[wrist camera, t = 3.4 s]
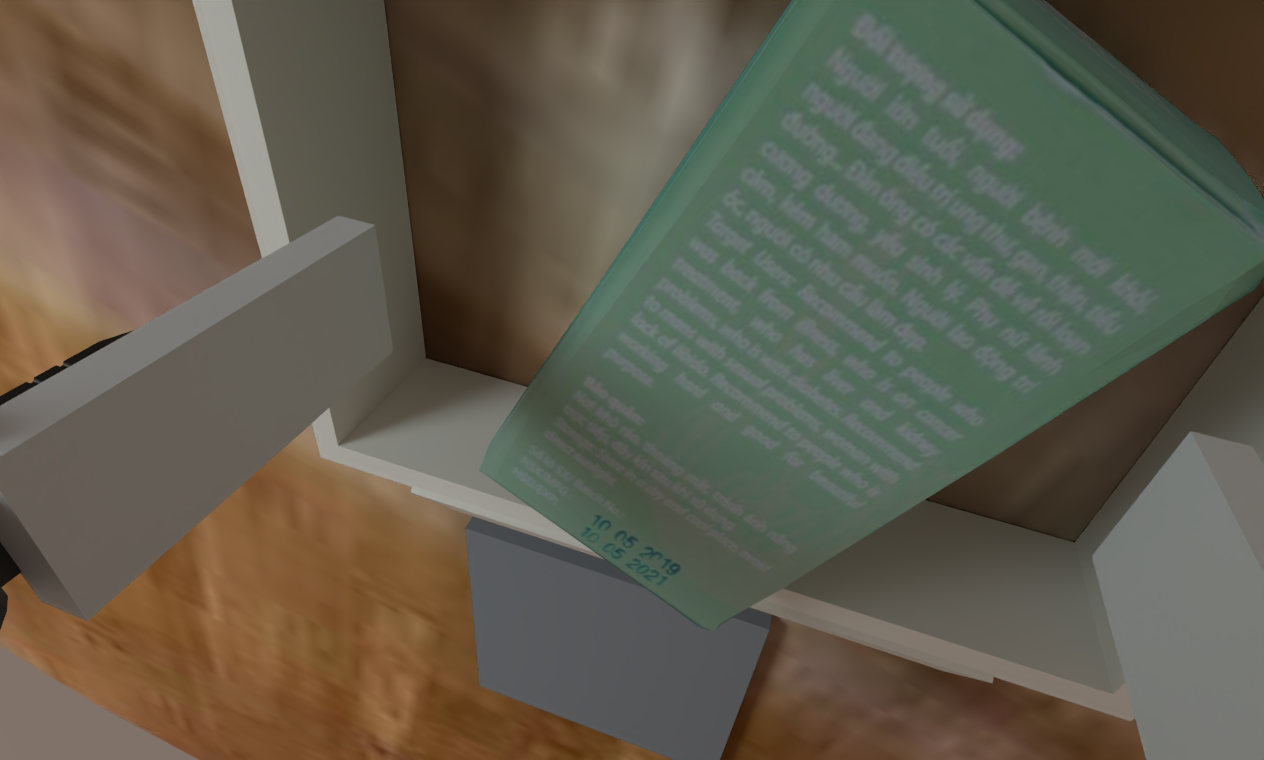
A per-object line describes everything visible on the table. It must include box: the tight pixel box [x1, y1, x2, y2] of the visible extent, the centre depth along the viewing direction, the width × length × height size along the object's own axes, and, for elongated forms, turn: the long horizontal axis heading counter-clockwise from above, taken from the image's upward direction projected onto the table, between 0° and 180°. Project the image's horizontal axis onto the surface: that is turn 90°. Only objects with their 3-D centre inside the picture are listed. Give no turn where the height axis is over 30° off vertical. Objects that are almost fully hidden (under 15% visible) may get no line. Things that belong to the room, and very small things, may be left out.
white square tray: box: [192, 0, 1264, 721], centre depth 15 cm, size 25×24×5 cm
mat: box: [465, 516, 772, 760], centre depth 32 cm, size 13×13×1 cm
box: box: [479, 0, 1264, 632], centre depth 15 cm, size 7×14×8 cm, turn 149°
